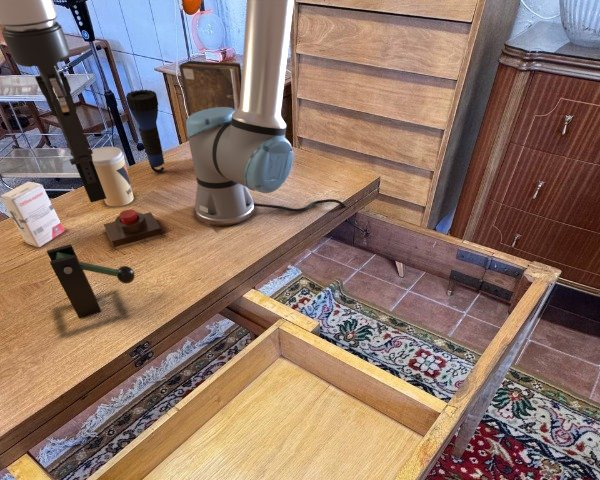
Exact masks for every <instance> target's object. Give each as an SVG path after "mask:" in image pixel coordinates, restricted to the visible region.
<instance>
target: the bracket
mask: <svg viewBox="0 0 600 480" xmlns="http://www.w3.org/2000/svg"><path fill="white" fill-rule="evenodd" d="M57 252H60V253H64V254H69V255H71V256H68V257H64V258H60V259H57V260H56V255H57ZM46 254H47V256H48V257H49V260H50V261H49V263H50V267H51V268H52V270H53V272H54V274H55V275H56V277H57V280H58V282H59V284H60V285H61V287H62V289H63V291H64V292H65V294H66V296H67V298H68V300H69V303H70V304H71V306H72V308H73V310H74V312H75V314H76V315H77V318H78V319H82V318H85V317H86V318H87V317H89V316H93V315H96V314H98V313H101V312H102V309H101V307H100V305H99V302H98V299H97V297H96V295H95V292H94V289H93V288H92V286H91V283H90V281H89V280H88V277H87V275H86V273H85V270H82V268H81V266H80V264H79V262H80V260H79V258H78V256H77V253H76V252H75V250H74V247H73V245H72V244H71V243H70V244H67V245H63V246H58V247H55V248H50V249H48V250H46ZM78 261H79V262H78Z"/></svg>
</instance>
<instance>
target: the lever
mask: <svg viewBox="0 0 600 480" xmlns="http://www.w3.org/2000/svg"><path fill="white" fill-rule="evenodd" d="M68 256H71V255H69V254H64V253H60V252H57V255H56V260H57V259H60V258H64V257H68ZM78 262H79V264H80V266H81V268H82V270H83V271H88V272H93V273H98V274H102V275H107V276H113V277H116V278H117V280H118V281H119V282H121V283H122V284H125V285H126V284H127V285H128V284H130V283H132V282H133V281H134V280H135V276H136V275H135V271H134V270H133V269H132V267H131V266H127V265H122V266H119V267H118V269H116V268H112V267H108V266H102V265H98V264H92V263H88V262H85V261H84V262H83V261H80V260H79V261H78Z"/></svg>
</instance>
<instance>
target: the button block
mask: <svg viewBox="0 0 600 480" xmlns="http://www.w3.org/2000/svg"><path fill="white" fill-rule="evenodd" d="M136 213H137V216H138V221H136V222H135V223H131V224H123V223H122V222H121V219H120V216H119V215H118V216H116V217H115V220H114V221H111V222H107V223H103V227H104V229H105V232H106V234H107V237H108V238H109V241H110V242H111V245H112V247H113V248H118V247H121V246H125V245H128V244H132V243H133V244H134V243H136V242H139V241H144V240H146V239H151V238H153V237H158V236H161V235H163V231H162V227H161V225H160V224H159V222H158V221H157V219H156V218H155V217H154V215H153V213H152V212H151V211H149V212H146V213H141V212H138V211H136Z"/></svg>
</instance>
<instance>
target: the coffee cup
mask: <svg viewBox="0 0 600 480" xmlns="http://www.w3.org/2000/svg"><path fill="white" fill-rule="evenodd" d="M91 150H92V152H93V154H91V155H92V161H93V163H94V166H95V169H96V171H97V174H98V177H99V180H100V182H101V185H102V188H103V190H104V193H105V196H106V198H107V199H103V201H104V203H105V204H106V205H107V206H109V207H122V206H126V205H129V204H130V203H132V202H133V200H134V192H133V189H132V185H131V181H130V176H129V172H128V168H127V164H126V160H125V154H124V152H123V150H121V149H120V148H118V147H117V146H102V147H96V148H93V149H91Z"/></svg>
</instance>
